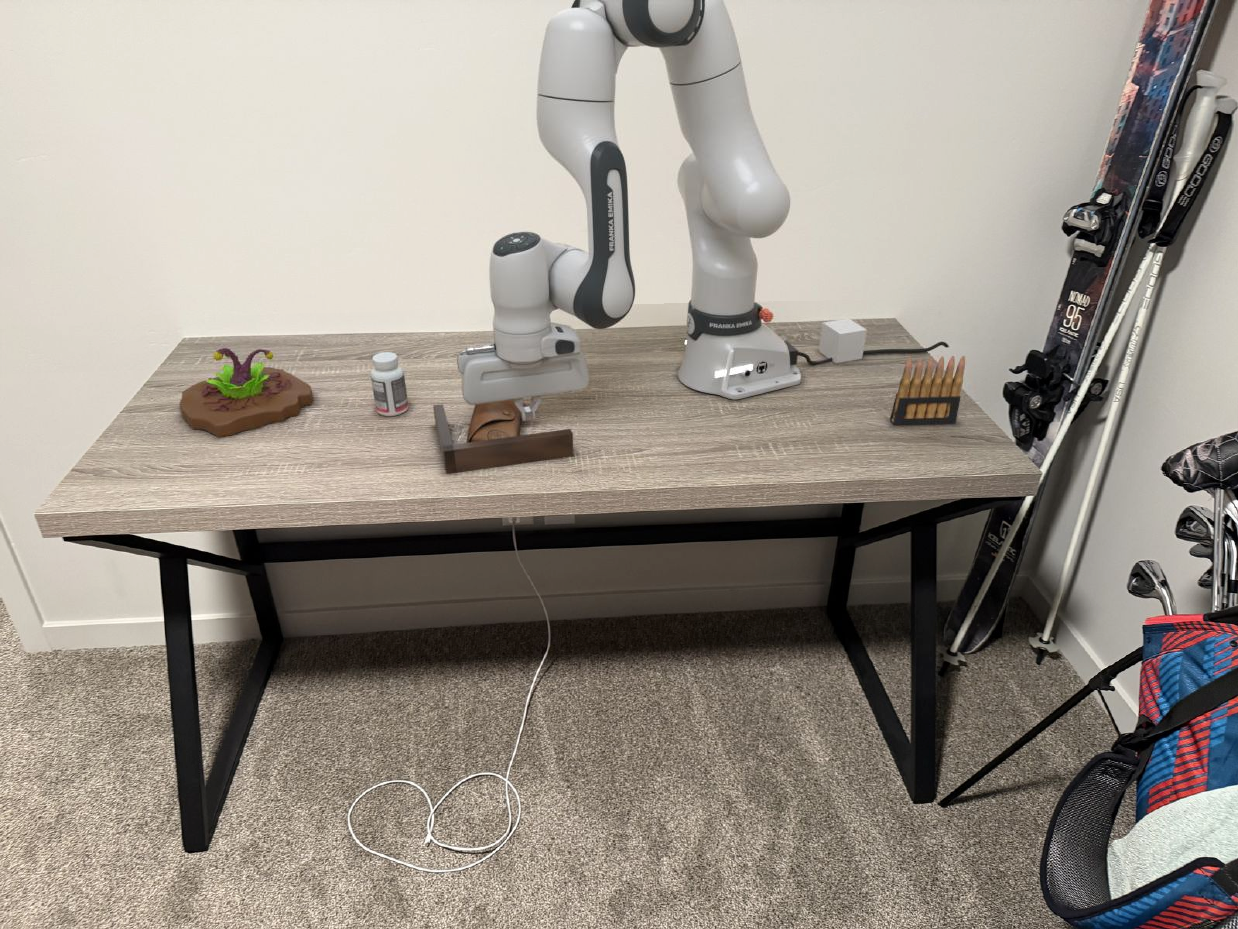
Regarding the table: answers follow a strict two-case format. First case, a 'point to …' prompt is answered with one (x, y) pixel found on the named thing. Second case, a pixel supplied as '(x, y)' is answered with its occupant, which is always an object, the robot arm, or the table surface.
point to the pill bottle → (388, 385)
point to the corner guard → (499, 448)
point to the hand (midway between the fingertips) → (528, 418)
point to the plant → (243, 397)
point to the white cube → (842, 340)
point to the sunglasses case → (494, 421)
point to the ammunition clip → (928, 394)
